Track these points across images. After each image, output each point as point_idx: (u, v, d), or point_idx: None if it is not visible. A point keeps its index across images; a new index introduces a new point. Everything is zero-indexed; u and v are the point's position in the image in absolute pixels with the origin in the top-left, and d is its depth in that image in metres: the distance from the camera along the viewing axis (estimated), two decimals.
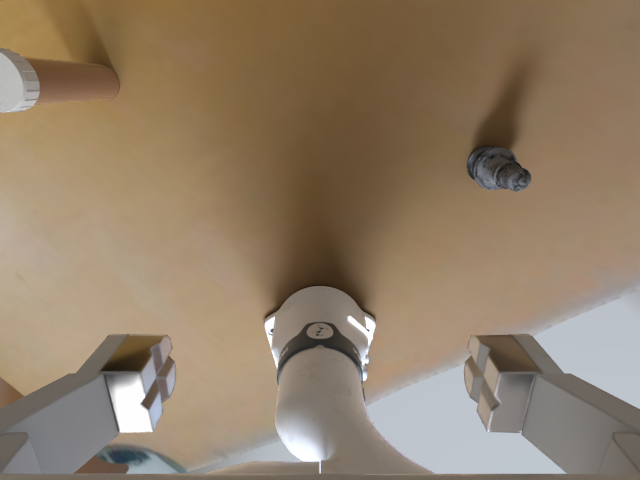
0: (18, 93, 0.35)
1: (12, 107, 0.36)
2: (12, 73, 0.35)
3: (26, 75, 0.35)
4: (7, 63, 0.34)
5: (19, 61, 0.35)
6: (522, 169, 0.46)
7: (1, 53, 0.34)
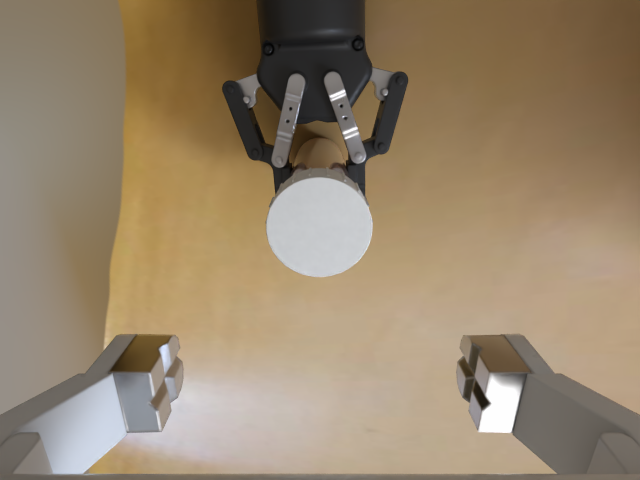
0: (363, 217, 0.20)
1: (366, 244, 0.20)
2: (340, 194, 0.19)
3: (350, 184, 0.20)
4: (325, 186, 0.19)
5: (328, 172, 0.20)
6: None
7: (309, 178, 0.19)
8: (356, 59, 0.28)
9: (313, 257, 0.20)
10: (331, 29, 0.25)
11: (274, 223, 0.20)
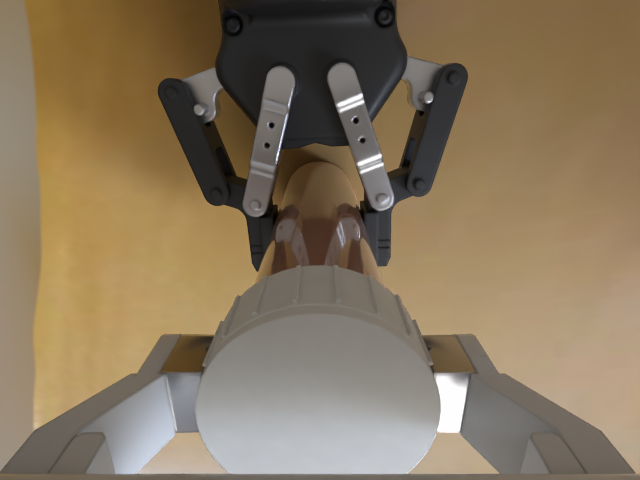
0: (422, 395, 0.08)
1: (425, 446, 0.09)
2: (368, 351, 0.08)
3: (391, 315, 0.09)
4: (333, 333, 0.08)
5: (340, 289, 0.08)
6: None
7: (294, 317, 0.08)
8: (382, 42, 0.16)
9: (305, 470, 0.09)
10: None
11: (213, 408, 0.08)
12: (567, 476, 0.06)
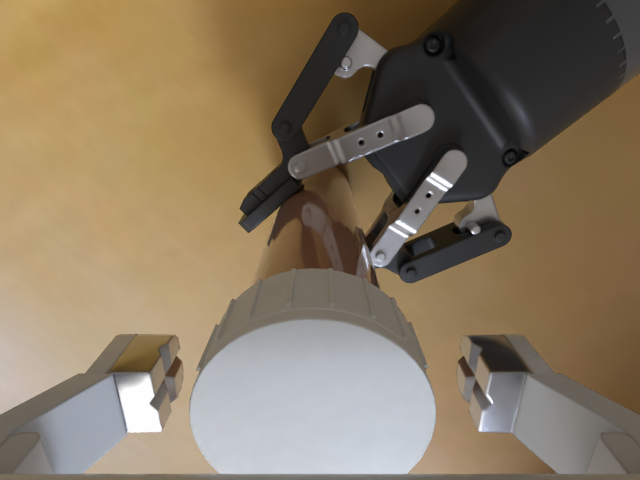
0: (404, 373, 0.08)
1: (430, 422, 0.09)
2: (330, 345, 0.08)
3: (349, 302, 0.08)
4: (290, 338, 0.08)
5: (292, 293, 0.08)
6: None
7: (246, 334, 0.08)
8: (492, 169, 0.18)
9: None
10: (531, 119, 0.15)
11: (212, 438, 0.09)
12: (567, 476, 0.06)
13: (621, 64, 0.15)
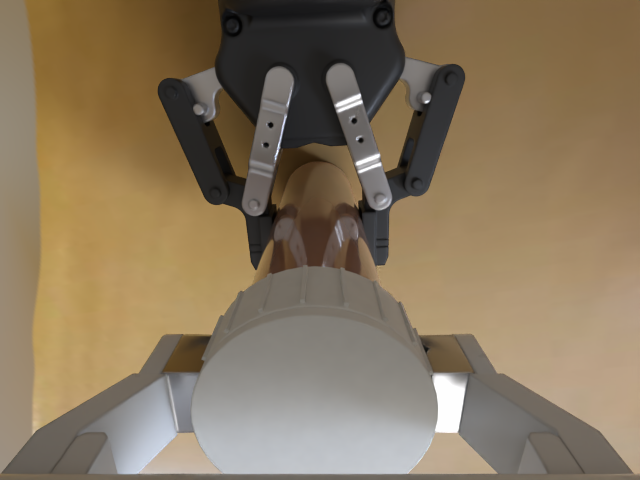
0: (318, 331, 0.08)
1: (392, 343, 0.08)
2: (246, 363, 0.08)
3: (244, 314, 0.08)
4: (217, 383, 0.08)
5: (209, 343, 0.09)
6: None
7: (193, 405, 0.08)
8: (380, 43, 0.16)
9: (375, 448, 0.09)
10: None
11: None
12: (567, 476, 0.06)
13: None
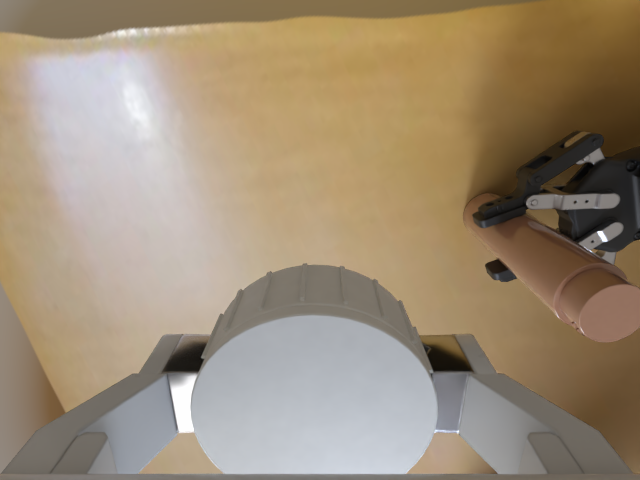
0: (318, 329, 0.08)
1: (391, 342, 0.08)
2: (246, 361, 0.08)
3: (243, 312, 0.08)
4: (217, 381, 0.08)
5: (209, 342, 0.09)
6: None
7: (193, 403, 0.08)
8: (627, 238, 0.33)
9: (374, 447, 0.09)
10: None
11: None
12: (567, 476, 0.06)
13: None
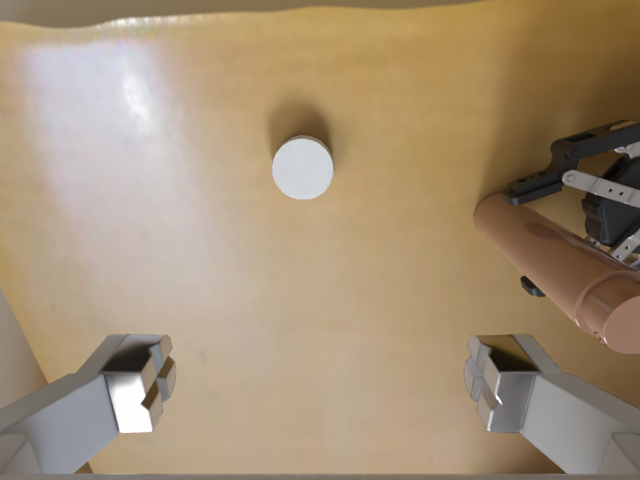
0: (304, 142, 0.33)
1: (321, 146, 0.34)
2: (287, 151, 0.34)
3: (286, 142, 0.34)
4: (279, 157, 0.34)
5: (276, 151, 0.35)
6: None
7: (273, 164, 0.34)
8: None
9: (317, 179, 0.35)
10: None
11: (290, 192, 0.35)
12: (567, 476, 0.06)
13: None
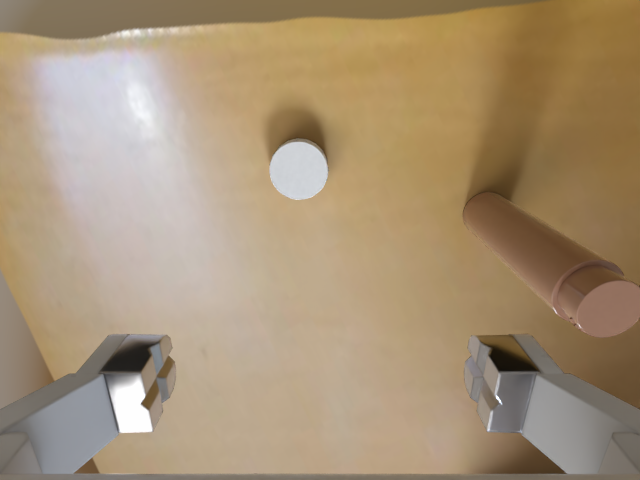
0: (299, 145, 0.35)
1: (315, 149, 0.35)
2: (283, 153, 0.36)
3: (282, 145, 0.36)
4: (276, 159, 0.36)
5: (273, 154, 0.37)
6: None
7: (270, 166, 0.36)
8: None
9: (313, 180, 0.36)
10: None
11: (287, 192, 0.37)
12: (567, 476, 0.06)
13: None
